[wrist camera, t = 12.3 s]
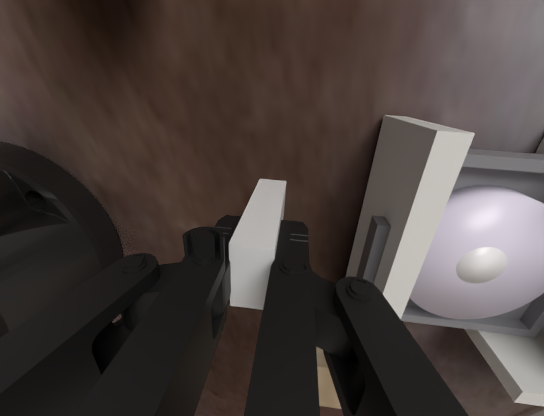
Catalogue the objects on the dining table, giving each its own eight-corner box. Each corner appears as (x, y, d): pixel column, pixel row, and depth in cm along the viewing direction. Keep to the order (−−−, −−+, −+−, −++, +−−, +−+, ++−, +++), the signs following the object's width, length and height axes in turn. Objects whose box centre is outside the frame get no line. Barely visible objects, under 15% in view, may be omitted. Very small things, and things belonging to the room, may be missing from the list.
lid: (503, 306, 16) (523, 327, 15) (377, 290, 17) (385, 310, 15) (576, 192, 13) (612, 205, 11) (414, 178, 13) (428, 189, 12)
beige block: (294, 360, 24) (293, 401, 21) (300, 324, 22) (299, 363, 18) (347, 367, 23) (354, 410, 20) (358, 331, 21) (368, 373, 18)
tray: (332, 298, 20) (344, 376, 14) (373, 114, 14) (418, 129, 8) (497, 318, 19) (575, 410, 13) (616, 130, 13) (843, 159, 7)
